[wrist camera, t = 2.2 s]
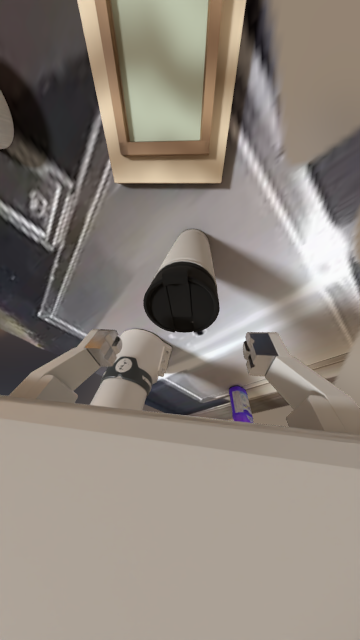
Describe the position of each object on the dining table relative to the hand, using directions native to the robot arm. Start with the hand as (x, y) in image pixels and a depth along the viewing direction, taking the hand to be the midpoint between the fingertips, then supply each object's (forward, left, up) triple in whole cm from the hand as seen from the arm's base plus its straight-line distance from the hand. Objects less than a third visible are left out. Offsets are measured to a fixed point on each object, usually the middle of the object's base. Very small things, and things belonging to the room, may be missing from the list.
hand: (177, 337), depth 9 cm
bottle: (-51, -21, -23) cm, 60 cm away
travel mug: (0, 0, -23) cm, 23 cm away
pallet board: (+17, +4, -23) cm, 29 cm away
